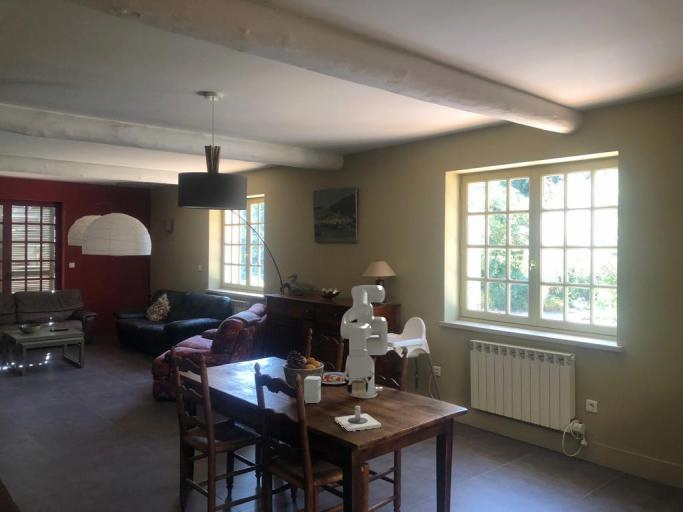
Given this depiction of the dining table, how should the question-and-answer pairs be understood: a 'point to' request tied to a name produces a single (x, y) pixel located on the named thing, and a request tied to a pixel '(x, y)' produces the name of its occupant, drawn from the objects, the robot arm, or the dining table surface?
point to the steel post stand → (358, 421)
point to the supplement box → (312, 389)
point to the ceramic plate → (333, 378)
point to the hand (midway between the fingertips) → (357, 391)
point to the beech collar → (358, 388)
